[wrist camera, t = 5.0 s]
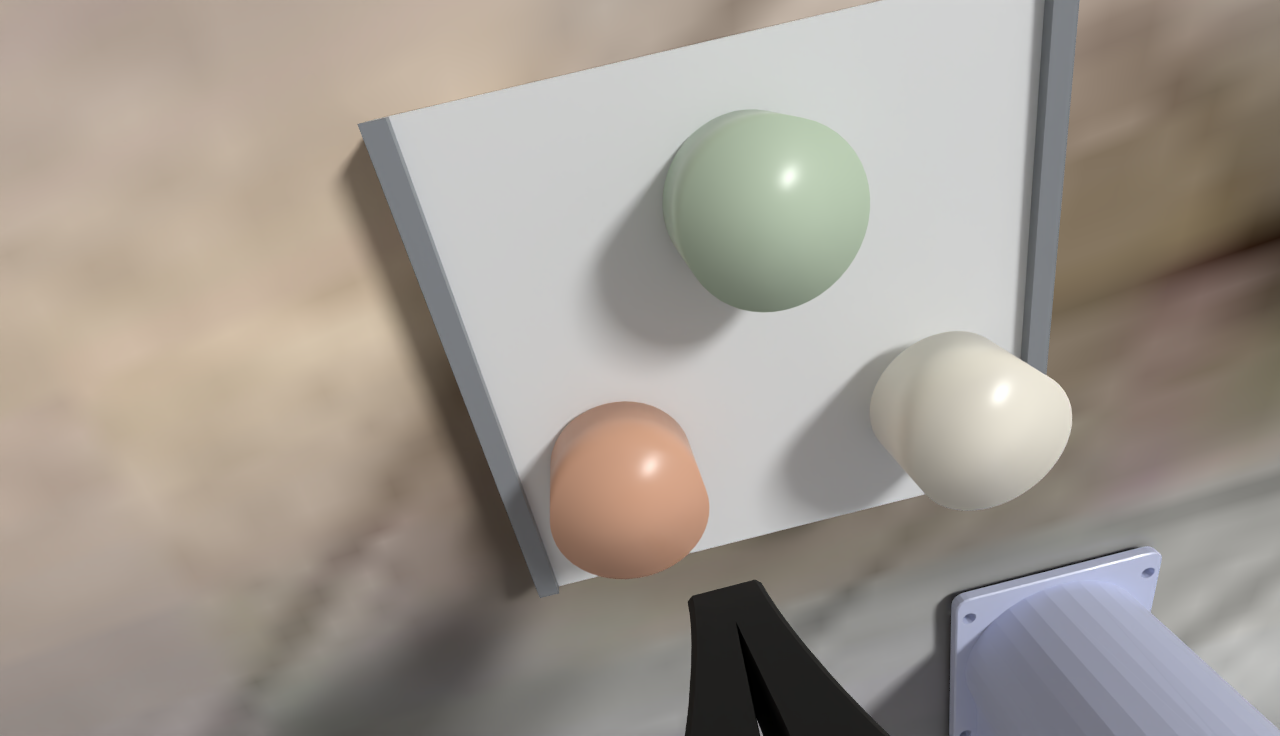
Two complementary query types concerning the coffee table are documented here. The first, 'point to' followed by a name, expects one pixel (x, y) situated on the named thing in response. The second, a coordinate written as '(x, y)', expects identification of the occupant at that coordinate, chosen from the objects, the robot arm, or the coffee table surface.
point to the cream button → (969, 420)
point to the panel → (674, 298)
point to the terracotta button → (625, 491)
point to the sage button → (766, 208)
